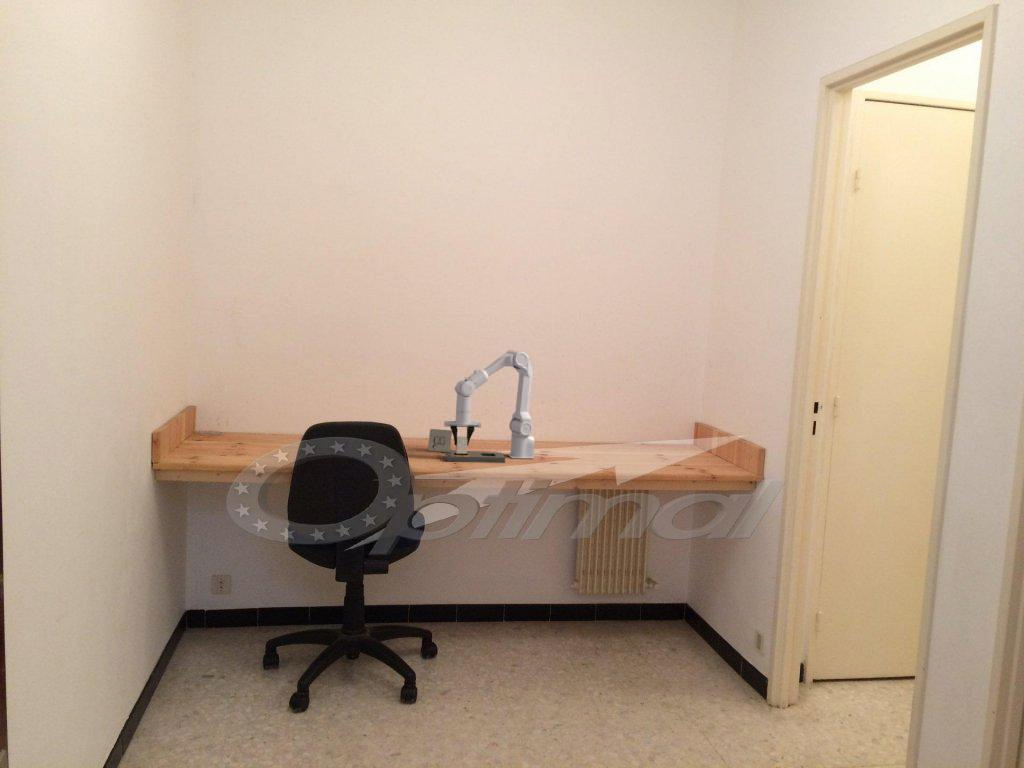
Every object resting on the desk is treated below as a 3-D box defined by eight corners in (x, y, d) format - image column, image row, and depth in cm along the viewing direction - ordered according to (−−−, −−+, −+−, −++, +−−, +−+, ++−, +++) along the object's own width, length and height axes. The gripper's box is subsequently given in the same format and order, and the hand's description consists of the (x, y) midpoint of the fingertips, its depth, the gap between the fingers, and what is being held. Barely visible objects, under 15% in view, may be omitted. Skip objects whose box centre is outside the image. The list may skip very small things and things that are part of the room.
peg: (465, 451, 316) (466, 436, 316) (466, 453, 312) (467, 438, 312) (455, 451, 315) (456, 436, 315) (456, 453, 311) (457, 438, 311)
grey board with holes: (500, 457, 322) (501, 452, 322) (504, 462, 313) (505, 457, 312) (444, 456, 318) (444, 450, 318) (447, 461, 308) (447, 456, 308)
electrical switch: (427, 451, 326) (429, 429, 326) (429, 450, 331) (431, 428, 331) (449, 453, 325) (451, 430, 325) (451, 452, 331) (453, 429, 330)
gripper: (479, 410, 317) (478, 443, 319) (443, 409, 315) (442, 442, 316) (482, 412, 311) (480, 446, 312) (445, 411, 308) (444, 446, 309)
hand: (461, 445), depth 314 cm, fingers closed on peg, 4 cm apart
